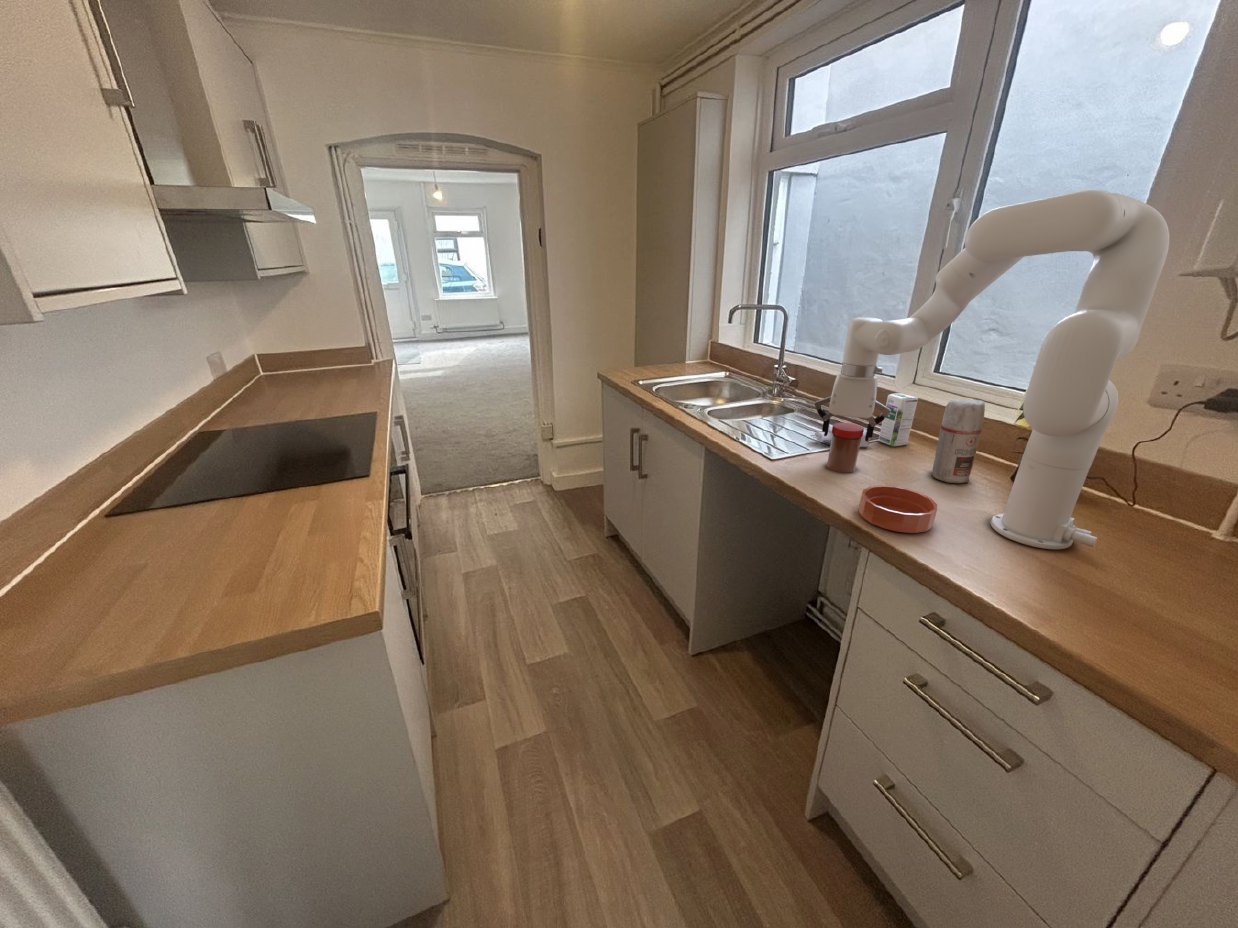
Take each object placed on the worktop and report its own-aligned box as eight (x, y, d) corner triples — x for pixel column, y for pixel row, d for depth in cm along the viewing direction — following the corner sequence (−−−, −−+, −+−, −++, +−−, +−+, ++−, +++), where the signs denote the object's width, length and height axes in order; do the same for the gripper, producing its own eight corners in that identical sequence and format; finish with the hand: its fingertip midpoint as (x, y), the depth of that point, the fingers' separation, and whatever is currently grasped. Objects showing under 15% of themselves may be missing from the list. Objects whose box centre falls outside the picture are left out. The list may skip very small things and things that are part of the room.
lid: (827, 434, 123) (828, 427, 122) (836, 427, 128) (837, 420, 127) (857, 440, 118) (859, 433, 118) (866, 433, 123) (867, 426, 123)
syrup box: (877, 440, 146) (886, 394, 140) (892, 438, 147) (902, 392, 142) (892, 447, 141) (903, 398, 135) (908, 444, 142) (919, 397, 137)
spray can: (933, 482, 118) (954, 402, 110) (925, 469, 125) (944, 394, 117) (973, 486, 115) (997, 405, 108) (963, 473, 122) (985, 396, 115)
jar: (859, 468, 126) (867, 429, 122) (847, 475, 122) (854, 435, 118) (834, 461, 131) (841, 423, 127) (821, 467, 127) (828, 429, 123)
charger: (804, 439, 148) (852, 438, 148) (817, 449, 139) (867, 448, 140) (806, 424, 146) (854, 423, 147) (819, 434, 137) (871, 433, 138)
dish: (943, 521, 100) (949, 502, 98) (912, 542, 92) (918, 521, 90) (878, 498, 110) (882, 480, 108) (845, 515, 102) (849, 496, 101)
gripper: (897, 370, 117) (883, 437, 123) (821, 365, 124) (811, 428, 130) (898, 376, 110) (883, 446, 117) (818, 370, 117) (808, 436, 124)
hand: (845, 437), depth 123 cm, fingers open, 9 cm apart
